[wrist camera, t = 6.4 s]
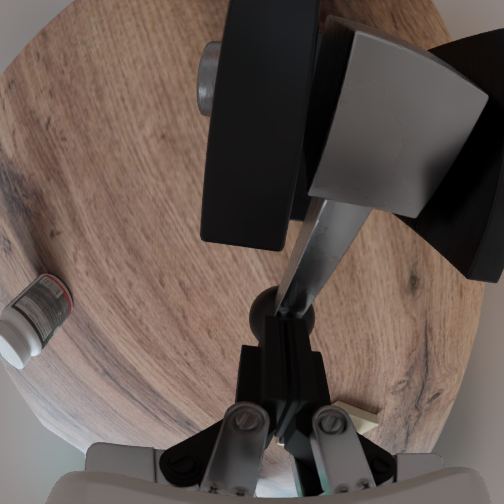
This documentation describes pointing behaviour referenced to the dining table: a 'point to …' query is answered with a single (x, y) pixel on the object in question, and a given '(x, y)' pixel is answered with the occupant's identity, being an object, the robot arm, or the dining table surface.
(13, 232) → the dining table surface
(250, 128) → the bracket
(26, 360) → the pill bottle
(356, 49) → the lever
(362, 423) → the button box
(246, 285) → the dining table surface
